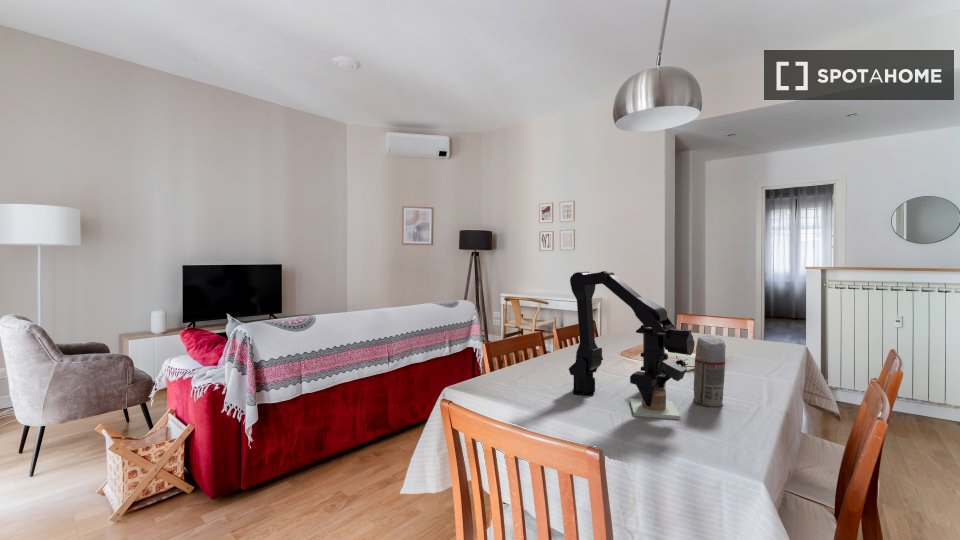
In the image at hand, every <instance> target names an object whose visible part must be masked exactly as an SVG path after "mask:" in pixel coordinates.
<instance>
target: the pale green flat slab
mask: <svg viewBox="0 0 960 540" xmlns="http://www.w3.org/2000/svg"><path fill="white" fill-rule="evenodd" d="M629 403H630V406H631V410H632V415H633V416H634V417H644V418H646V417H647V418H656V419H657V418H659V419H668V420H669V419H670V420H681V415H680V414H681V413H679V411H678V409H677V408H676V406H675V403H674V402H673V401H672V400H666V409H664V410H661V411H658V410H649V409H646V408H644V407H643V406H642V398H631V397H630V398H629Z"/></svg>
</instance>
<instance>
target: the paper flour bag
mask: <svg viewBox="0 0 960 540" xmlns="http://www.w3.org/2000/svg"><path fill="white" fill-rule="evenodd" d="M693 369H694V370H693V371H694V372H693V373H694V374H693V401H694V402H695V403H697V404H699V405H701V406H702V405H703V406H706V407H721V406H723V405H724V404H723V401H724V387H725V386H724V385H725V375H726V374H725V372H726V343H725V341H724V339H722V338H716V337H714V336H712V335H704V336H699V337H697V342H696V345H695V357H694V367H693Z"/></svg>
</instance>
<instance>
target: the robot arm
mask: <svg viewBox="0 0 960 540" xmlns="http://www.w3.org/2000/svg"><path fill="white" fill-rule="evenodd" d="M569 283H570V289H571V293H573V294H572V295H573V296H574V297H575V299H576V307H577V308H576V309H577V310H576V311H577V322H578V336H579V337H578V338H579V344H578V346H577V347H578V348H577V349H576V352H575V355H576V356H575V362H574V363H572V364H571V365H570V366H569V367H568V371H569V374H570V376H573V389H572V390H573V391H572V394H573V395H582V396H583V395H585V396H594V395H595V393H596V377H594V373H596V372H597V370H598V368H600V366H601V365H602V364H603V363H602V362H603V360H604V358H603V347H598V346H597V343H596V341H595V340H596V339H595V338H596V337H595V327H594V326H595V324H594V311H593V310H594V309H593V296H594V294H595V292H596V285H604V286H605V287H606V288H607V289H608V290H609V291H610V292H612V293H613V294H614V295H615V296H617V297H618V298H619V299H620V300H621V301H622V302H624V303H625V304H626V305H627V306H628V307H630V309H631V310H632V312H633V313H634V315H635V317H636V318H637V319H638V320H639V321H640V322H641V325H640V327H639V328H638V329H635V333H636V334H641V335H642V336H643V337H642V340H643V342H642V344H643V345H642V352H640V357H642V361H643V362H642V366H640V370H638V371H636V372H633V373H632V374H631V375H630V376H629V383H630V384H632V385H635V386H636V388H637V389H638V391H639V393H640V395H641V398H642V397H643V399H644V401H645V403H646V405H647V406H649V407H650V406H651V403H652V396H653V390H654V388H656V387H663V388H664V386H665V383H667V382H668V381H670V379H672V380H674V381H675V382H679V381H680V380H682V379H683V378H684V376H685V374H686V373H687V372H688V369H687V368H688V367H687V365H686V361H685V360H684V359H682V358H679V359H678V360H676V361H675V360H672V359H669V354H668V353H673V354H680V355H686V356H692V355H693V354H694V350H695V346H696V345H695V340H694V336H693V334H692V330H691V329H679V328H676V326H675V325H674V324H673V322H672V321H671V319H670V317H668V312H667V310H666V308H665V307H663V306H661V305H659V304H658V303H656V302H654V301H652V300H649V299H647V298H644V297H643V296H642V295H640V294H639V293H638V292H637V291H635V289H633V288H632V287H630V286H629V285H628V284H627V283H625V282H624V281H623V280H622V279H620V278H619V277H618V276H617V275H616V273H614V271H612V270H603V271H600V272H595V273H593V272H590V271H577V272H574V273H573V274H572V275H571V276H570V279H569ZM664 349H665V351H667V352H668V353H667V352H665V353H664Z"/></svg>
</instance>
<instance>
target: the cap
mask: <svg viewBox="0 0 960 540" xmlns="http://www.w3.org/2000/svg"><path fill="white" fill-rule="evenodd" d="M666 393H667V392H666V390H665V389H664V388H663V387H656V388H654V390H653V396H652V403H651V406H650V407H649V406H647V405H646V403H645V401H644V399H643V397H642V396H641V399H642V406H643V407H644V408H646V409H649V410H658V411H661V410H664V409H666V401H667V394H666Z"/></svg>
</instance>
